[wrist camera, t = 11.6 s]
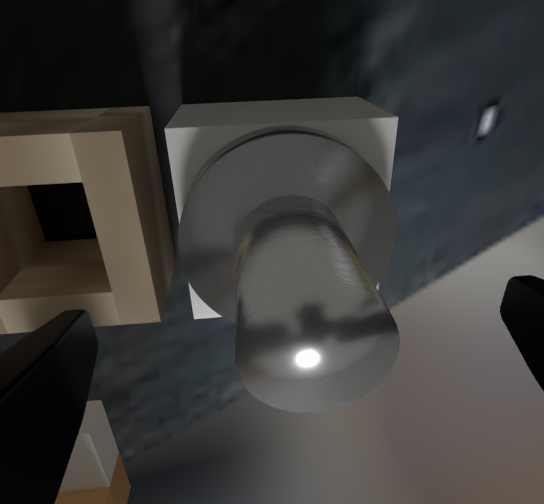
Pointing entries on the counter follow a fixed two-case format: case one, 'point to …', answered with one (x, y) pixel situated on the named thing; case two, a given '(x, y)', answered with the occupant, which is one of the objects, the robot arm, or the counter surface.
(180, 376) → the counter surface
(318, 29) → the counter surface
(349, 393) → the grey flanged peg
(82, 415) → the robot arm
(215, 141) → the grey block
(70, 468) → the tan and grey l-block
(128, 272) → the birch socket block
